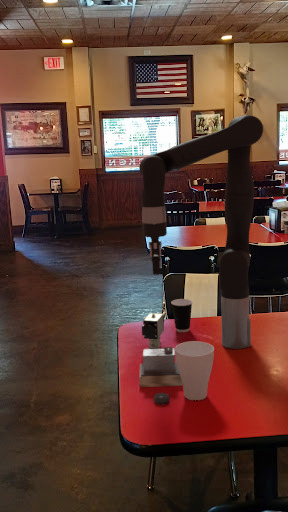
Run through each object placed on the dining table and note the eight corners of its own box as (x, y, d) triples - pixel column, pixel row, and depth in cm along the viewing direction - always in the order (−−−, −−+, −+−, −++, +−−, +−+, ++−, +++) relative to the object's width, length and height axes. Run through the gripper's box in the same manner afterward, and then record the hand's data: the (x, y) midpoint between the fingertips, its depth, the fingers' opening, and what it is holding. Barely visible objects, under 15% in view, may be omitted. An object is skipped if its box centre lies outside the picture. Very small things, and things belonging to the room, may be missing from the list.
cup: (175, 387, 137) (173, 341, 134) (212, 386, 136) (212, 340, 134) (176, 405, 126) (175, 356, 124) (217, 404, 126) (216, 355, 123)
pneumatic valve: (165, 341, 171) (164, 308, 169) (156, 354, 160) (155, 319, 158) (150, 340, 173) (149, 308, 171) (140, 353, 162) (139, 318, 160)
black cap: (172, 401, 130) (172, 395, 129) (162, 406, 127) (162, 401, 126) (160, 396, 132) (160, 391, 132) (151, 402, 129) (150, 397, 129)
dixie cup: (167, 331, 181) (166, 302, 179) (180, 325, 187) (179, 297, 185) (185, 335, 177) (184, 306, 174) (197, 328, 183) (196, 300, 180)
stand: (180, 372, 146) (180, 361, 146) (182, 385, 137) (181, 374, 137) (140, 373, 147) (140, 362, 146) (139, 387, 138) (139, 375, 137)
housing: (143, 372, 139) (142, 352, 138) (144, 365, 144) (143, 346, 143) (175, 371, 139) (174, 351, 138) (174, 364, 144) (174, 345, 143)
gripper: (142, 218, 159) (144, 267, 162) (141, 224, 145) (144, 277, 148) (165, 217, 159) (167, 266, 162) (167, 223, 145) (168, 276, 148)
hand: (156, 271), depth 155 cm, fingers open, 8 cm apart
